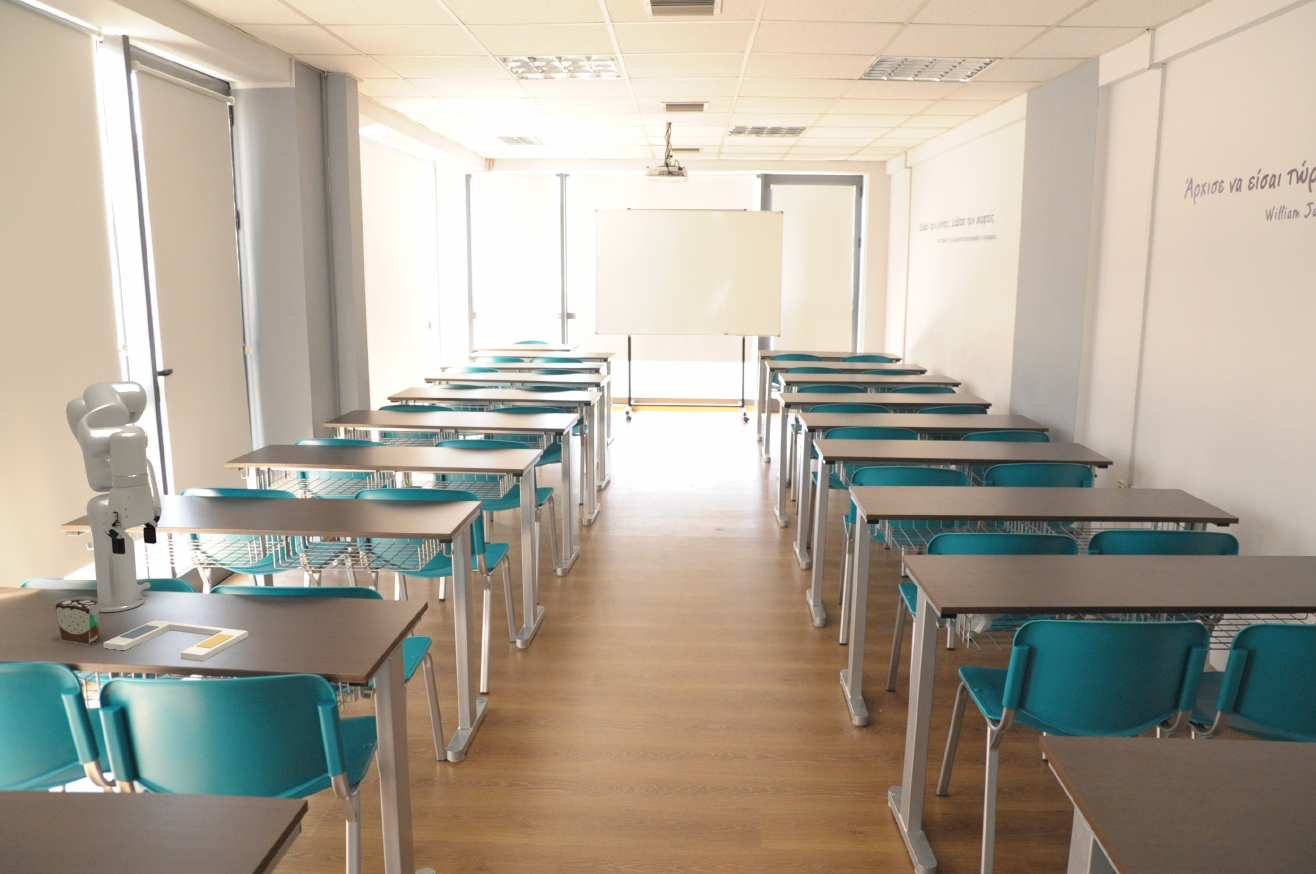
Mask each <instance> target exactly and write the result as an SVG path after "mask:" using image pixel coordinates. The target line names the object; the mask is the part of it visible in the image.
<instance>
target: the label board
mask: <svg viewBox="0 0 1316 874" xmlns="http://www.w3.org/2000/svg"><path fill="white" fill-rule="evenodd" d="M168 631H177V632H187V633H192V634H193V633H195V634H201V635H210V637H208V638H205V639H204V640H202V641H201V642H199V643H196V644H193V645H192V646H190V647H189V648H187V649H184V650H182V651H180V659H183V660H190V661H191V660H192V661H197V662H198V661H199V662H203V661H206V660H208V659H209V658H212V657H214V655H217V654H218V653H221V652H222V651H224V650H226V649H228V648H230V647H232V646H233V645H236V644H237V643H239V642H240V641H241V642H242V641H243V640H244V639H247V638H249V630H243V629H232V628H224V627H218V626H217V627H216V626H208V625H207V626H206V625H201V624H200V625H199V624H191V623H183V622H176V621H175V622H174V621H166V620H158V619H154V620H151V621H149V622H146V623H144V624H142V625H139V626H137V627H136V628H133V629H131V630H129V631H127V632H124V633H122V634H120V635H117V636H115V637H113V638H111V639H109V640H107V641H104V642H103V649H105V648H108V650H113V649H116V651H120V650H126V651H128V650H129V648H130V649H132V648H134V647H136V646H138V645H137V644H139V643H141V642H143V641H145V642H146V641H149V640H151V639H153V638H152V637H154V638H156V637H157V636H156V635H158V636H160V635H162V634H164V633H166V632H168ZM161 633H162V634H161ZM159 634H160V635H159ZM155 636H156V637H155ZM150 638H151V639H150ZM148 639H149V640H148ZM143 643H144V642H143ZM141 644H142V643H141ZM135 645H136V646H135ZM139 645H140V644H139ZM133 646H134V647H133ZM131 647H132V648H131ZM127 649H128V650H127Z"/></svg>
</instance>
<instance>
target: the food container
mask: <svg viewBox="0 0 1316 874" xmlns="http://www.w3.org/2000/svg"><path fill="white" fill-rule="evenodd" d="M53 602H54V604H53V610H55V615H56V621H57V627H58V632H59V639H60V641H61V642H66V641H68V642H67V643H72V642H75V643H74V644H78V643H81V644H80V645H83V644H88V645H87V646H89V645H90V644H92V643H94V644H95V643H97V642H98V641H99V628H100V627H99V624H100V623H99V621H100V618H99V615H100V613H101V612H100V611H101V610H102V606H101V604H100V602H99V600H98V597H97V598H96V597H92V596H76V597H68V598H63V599H59V600H56V601H53ZM97 640H98V641H97ZM96 641H97V642H96ZM92 645H93V644H92ZM90 646H91V645H90Z"/></svg>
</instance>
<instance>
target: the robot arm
mask: <svg viewBox="0 0 1316 874" xmlns="http://www.w3.org/2000/svg"><path fill="white" fill-rule="evenodd" d="M82 395H83V396H80V397H79V396H78V397H76V398H73V399H71V400H69V401H68V402H67V403H66V408H65V414H66V420H67V424H68V426H69V428H70V431H71V432H72V434H73V437H74V438H75V439H76V441H77V442H78V444H79V446H80V449H81V452H82V456H83V457H82V458H83V463H84V469H85V474H86V479H87V483H88V485H89V488H90V489H91V490H92V491H93V492H96V493H103V494H98V495H97V496H93V497H92V498H90V499H89V501H88V502H87V505H86V515H87V518H88V523H89V527H90V531H91V537H92V544H93V545H92V546H93V557H94V570H95V581H96V592H97V593H96V594H97V599H98V600H99V602H100V604H101V606H102V610H101V611H100V612H99V613H115V612H121V611H127V610H131V609H134V608H138V607H139V606H141V605H142V604H144V603H145V600H146V599H145V596H144V595H142V594H141V593H142V592H143V591H145V590H148V589H150V588H151V583H150V582H149V581H147V582H143V583H141V584H139V583H138V580H137V566H136V552H135V549H136V548H135V543H134V540H133V538H132V537H131V535H130V534H128V532H126V531H127V530H129V529H133V528H135V527H139V526H144V527H143V530H142V531H143V532H142V533H143V543H144V544H148V545H149V544H151V545H155V544H157V530H156V529H157V528H158V523H159V521H160V519H161V516H162V511H163V509H162V502H161V498H160V493H159V488H158V484H157V479H156V474H155V470H154V466H153V464H152V462H151V460H150V459H149V458H148V457H147V448H148V445H149V438H148V433H147V432H146V431H145V430H144V428H142V427H141V426H138V425H131V424H135V423H137V422H138V421H140V419H141V417H142V416H143V413H144V412H145V410H146V409H147V408H146V407H147V403H148V401H147V400H148V399H147V398H148V397H147V393H146V390H145V388H144V387H143V386H142V385H141V384H140V383H139V382H138V381H134V380H133V381H130V380H129V381H101V382H96V383H92V384H90V385H88V386H87V387H86V388H85V389H84V391H83V393H82Z"/></svg>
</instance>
